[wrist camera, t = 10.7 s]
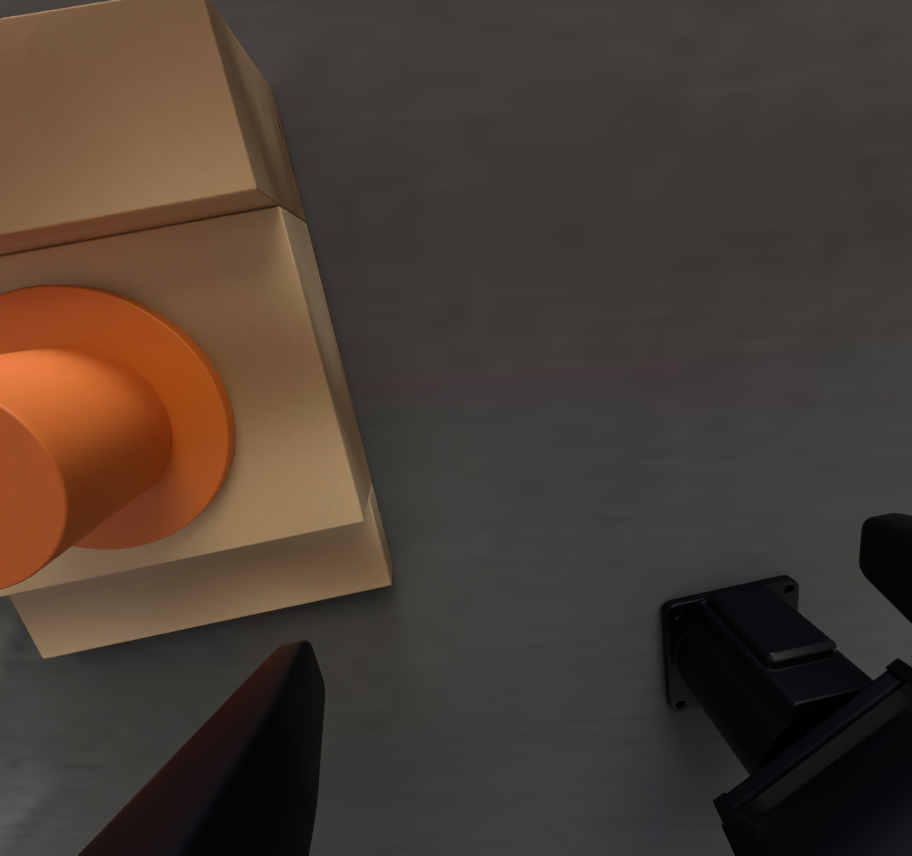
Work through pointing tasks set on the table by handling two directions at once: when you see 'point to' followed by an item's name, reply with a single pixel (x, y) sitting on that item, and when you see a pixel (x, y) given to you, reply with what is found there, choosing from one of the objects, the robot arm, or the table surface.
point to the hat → (101, 426)
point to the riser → (186, 308)
